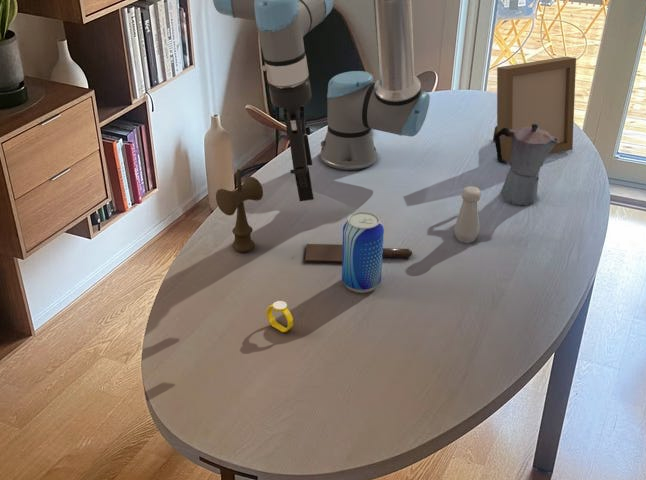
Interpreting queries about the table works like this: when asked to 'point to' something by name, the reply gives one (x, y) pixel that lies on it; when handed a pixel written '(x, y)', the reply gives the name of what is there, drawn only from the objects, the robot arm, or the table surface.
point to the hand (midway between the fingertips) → (306, 181)
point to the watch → (282, 307)
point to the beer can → (362, 252)
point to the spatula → (334, 253)
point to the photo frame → (537, 100)
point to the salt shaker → (468, 216)
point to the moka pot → (524, 162)
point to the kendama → (240, 209)
